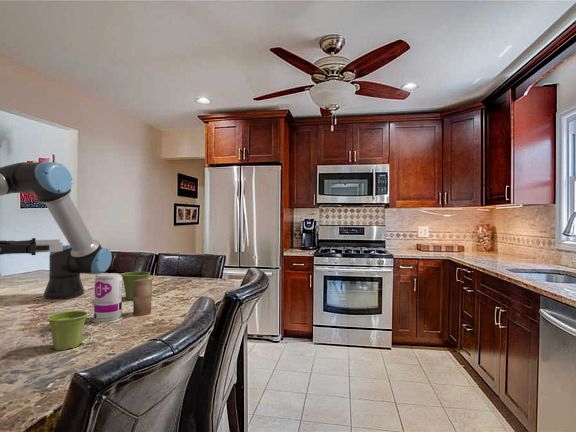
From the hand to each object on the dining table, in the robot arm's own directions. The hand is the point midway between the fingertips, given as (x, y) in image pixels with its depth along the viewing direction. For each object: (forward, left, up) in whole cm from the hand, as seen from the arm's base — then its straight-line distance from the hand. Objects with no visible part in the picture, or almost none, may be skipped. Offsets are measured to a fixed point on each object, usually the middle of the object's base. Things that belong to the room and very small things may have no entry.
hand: (61, 244), depth 106 cm
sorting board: (+3, +19, -27) cm, 33 cm away
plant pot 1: (+20, +1, -27) cm, 34 cm away
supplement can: (+3, +14, -26) cm, 29 cm away
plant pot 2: (-28, +29, -27) cm, 48 cm away
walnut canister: (+3, +25, -25) cm, 36 cm away
